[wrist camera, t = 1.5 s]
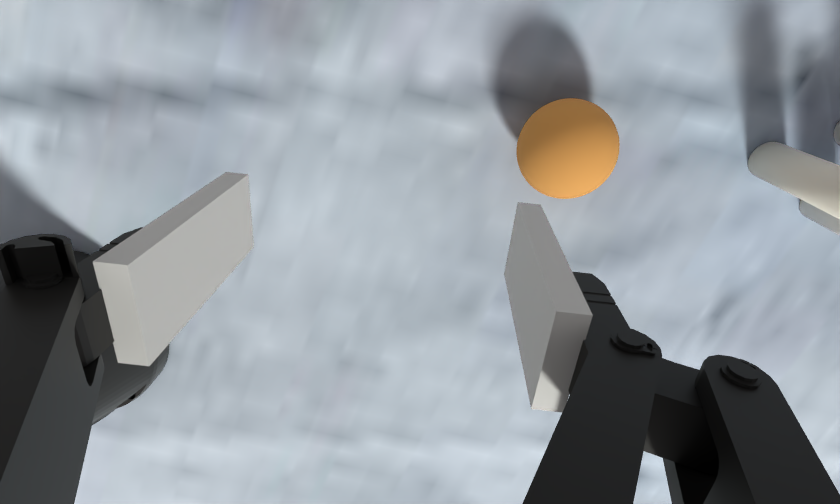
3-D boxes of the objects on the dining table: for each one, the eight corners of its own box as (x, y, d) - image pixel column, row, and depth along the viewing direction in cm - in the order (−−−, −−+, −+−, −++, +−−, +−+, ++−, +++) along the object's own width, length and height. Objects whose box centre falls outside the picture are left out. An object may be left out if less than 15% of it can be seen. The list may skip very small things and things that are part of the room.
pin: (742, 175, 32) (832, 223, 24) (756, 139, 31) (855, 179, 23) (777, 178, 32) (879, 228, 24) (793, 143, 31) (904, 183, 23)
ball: (504, 176, 33) (514, 207, 28) (520, 87, 30) (534, 101, 25) (590, 185, 33) (617, 218, 28) (613, 96, 30) (648, 113, 25)
